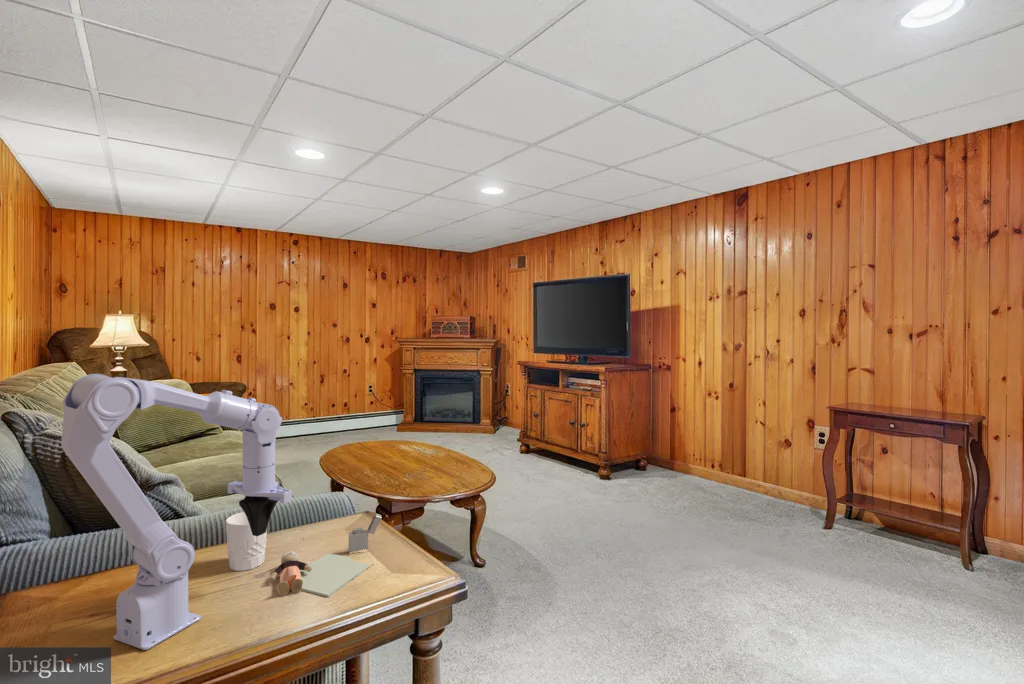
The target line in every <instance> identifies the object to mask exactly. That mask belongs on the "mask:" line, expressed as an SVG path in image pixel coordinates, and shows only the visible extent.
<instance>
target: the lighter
mask: <svg viewBox="0 0 1024 684" xmlns="http://www.w3.org/2000/svg"><path fill="white" fill-rule="evenodd" d="M381 521H382V515H381V514H379V513H374V514H373V517H372V519H371V522H370V523H369V526H368V528H367V529H365V530H364V527H362V526H361V527H355V528H354V529H352V531H351V532H348V553H349V552H353V551H359V550H363V549H364V550H365V549H368V550H369V534H372V535H374V534H375V533H376V530H377V529H378V527H379V525H380V522H381Z"/></svg>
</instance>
